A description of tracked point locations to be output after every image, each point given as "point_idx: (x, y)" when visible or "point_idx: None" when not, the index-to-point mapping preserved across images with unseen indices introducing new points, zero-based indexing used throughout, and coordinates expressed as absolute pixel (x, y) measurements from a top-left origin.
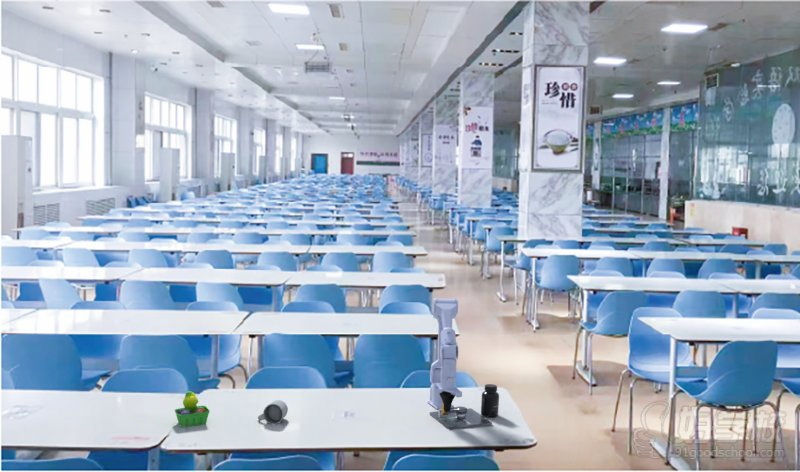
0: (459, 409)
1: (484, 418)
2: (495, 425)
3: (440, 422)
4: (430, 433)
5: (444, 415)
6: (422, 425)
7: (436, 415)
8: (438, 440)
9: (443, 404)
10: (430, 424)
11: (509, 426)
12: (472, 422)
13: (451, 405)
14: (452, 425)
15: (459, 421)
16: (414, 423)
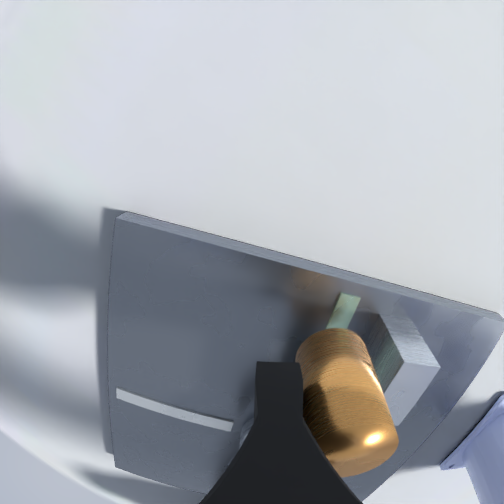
0: None
1: (188, 486)
2: None
3: (314, 264)
4: (133, 10)
5: None
6: (359, 66)
7: (437, 325)
8: (11, 20)
9: (349, 434)
10: (342, 153)
11: (93, 475)
12: (149, 424)
13: (457, 464)
14: (137, 277)
15: (203, 385)
16: (437, 51)
